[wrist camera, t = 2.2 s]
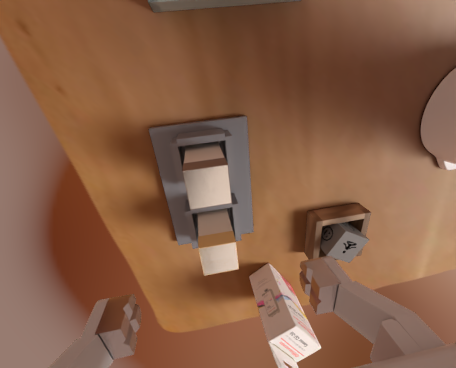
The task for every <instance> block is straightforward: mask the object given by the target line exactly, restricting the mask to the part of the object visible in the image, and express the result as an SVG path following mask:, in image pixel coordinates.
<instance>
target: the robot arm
mask: <svg viewBox="0 0 456 368" xmlns="http://www.w3.org/2000/svg"><path fill="white" fill-rule="evenodd" d="M421 139H422V142H423V145H424V146H425V148H426V149H427V150H428V151H429V152H430V153H432V154H433V155H434V156H435V157H436V158H437V162H438V165H439V167H440V168H441V169H445V170H453V169H456V68H455V69H453V70H452V71H451V72H450V73H449V74H448V75H447V76H446V77H445V78H444V79H443V81H442V82H441V83H440V84H439V86H438V87H437V88H436V90H435V91H434V93H433V94H432V96H431V98H430V100H429V102H428V104H427V106H426V108H425V111H424V114H423V118H422V122H421ZM300 268H301V269H302V271H301V272H300V283H301V286H302V289H303V291H304V293H305V294H307V295H308V296H310V299H309V302H310V304H311V306H312V307H313V309H314V311H315V313H316V314H322V313H327V312H333V311H334V313H335V314H336V315H338V316H339V317H340V318H342V319H343V320H344V321H345V322H347V323H348V324H349V325H350V326H352V327H353V328H354V329H355V330H357V331H358V332H359V333H360V334H362V335H363V336H364V337H366V338H367V339H368V340H369V341H370V342H372V343H373V344H374V346H373V349H372V352H371V355H370V359H371V360H372V362H373V363H370V364H366V365H362V366H358V367H355V368H456V343H452V344H448V345H446V344H445V343H444V342H443V341H442V340H441V339H440V338H439V337H438V336H437V335H436V334H435V333H434V332H433V331H432V330H431V329H430V328H429V327H428V326H427V325H426V324H425V323H424V322H423V321H422V320H421V319H420V318H419V317H418V315H417V314H416V313H414V312H413V311H411V310H409V309H407V308H405V307H403V306H401V305H399V304H397V303H396V302H394V301H392V300H390V299H388V298H386V297H384V296H382V295H380V294H379V293H377V292H375V291H373V290H371V289H369V288H367V287H366V286H364V285H362V284H360V283H358V282H356V281H354V282H353V281H352V280H351V279H350V278H349V277H348V275H347V274H346V273H345V272H344V270H343V269H342V268H341V267H340V266H339V264H338V263H337V262H336V261H335V259H334V258H333V257H332V256H326V257H321V258H315V259H310V260H305V261H301V263H300ZM135 302H136V298H135V296H134V294H133V295H126V296H119V297H114V298H109V299H103V300H99V301H98V302H97V303H96V304H95V306H94V308H93V311H92V313H91V315H90V317H89V320H88V322H87V324H86V327H85V329H84V331H83V334H82V336H81V338H79V339H76V340H75V341H74V342H73V343H72V344H71V345H70V346H69V347H68V348H67V349H66V350H65V351H64V352H63V353H62V354H61V355H60V356H59V358H57V359H56V360H55V362H54V363H53V364H52V365H51V366H50V367H49V368H109V367H110V365H111V364H112V362H113V360H114V359H118V358H122V357H126V356H129V355H133V354H134V351H135V346H136V342H137V336H136V334H135V333H136V331H137V330H138V329H139V327H140V323H141V310H140V307H139V305H137V304H135Z"/></svg>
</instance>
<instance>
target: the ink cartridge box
mask: <svg viewBox="0 0 456 368" xmlns="http://www.w3.org/2000/svg"><path fill="white" fill-rule="evenodd" d="M249 279H250V282H251V286H252V289H253V292H254V296H255V299H256V303H257V306H258V310H259V313H260V317H261V320H262V324H263V327H264V330H265V334H266V337H267V340H268V343H269V345H270V348H271V351H272V354H273V356H274V359H275V362H276V364H277V366H278V368H288V367H287V366H286V365H285V364H284V362H283V361H285V362H286V363H288V364H289V365H290V366H291V367H292V368H298V365H297V363H296V362H298V361H300V360H302V359H303V358H305V357H307V356H308V355H310V354H312V353H314V352H315V351H317V350H319V349H321V346H320V344H319V342H318V340H317V338H316V336H315V334H314V332H313V330H312V328H311V326H310V324H309V322H308V320H307V318H306V316H305V314H304V311H303V309H302V307H301V305H300V303H299V301H298V299H297V297H296V295H295V293H294V290H293V289H292V286H291V284H289V283H288V282H287V281H286V280H285V279H284V278H283V277H282V276H281V275H280V274H279V273H278V272H277V271H276V270H275V269H274V268H273V267H272V265H271V264H270V263H267V264H266V265H264V266H263V267H262V268H260V269H259V270H257V271H256V272H254V273H253V274H252V275H250V276H249Z"/></svg>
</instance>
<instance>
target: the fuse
mask: <svg viewBox="0 0 456 368" xmlns="http://www.w3.org/2000/svg"><path fill="white" fill-rule="evenodd" d="M198 249H199V254H200V259H201V264H202V269H203V274H204V276H205V275H211V274H216V273H221V272H227V271H232V270H237V269H239V265H238V256H237V246H236V240H235V236H234V232H233V230H232V227H231V223H230V219H229V215H228V212H227V208H224V209H218V210H212V211H206V212H199V213H198Z"/></svg>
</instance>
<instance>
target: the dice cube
mask: <svg viewBox="0 0 456 368" xmlns="http://www.w3.org/2000/svg"><path fill="white" fill-rule="evenodd" d="M368 241H369V239H368V238H367V237H366V236H365V235H363V234H362V233H361V232H360V231H359V230H358V229H357V228H356V227H355V226H353V225H352V224H351V223H350V222H349V221H348V222H342V223H337V224H331V225H326V226H322V233H321V242H320V248H321V249H322V250H323V252H324V253H325V254H326V255H327V256H332V257H333V258H336V259H339V260H342V261H345V262H348V263H350V262H351V261H352V259H353V258H354V257H355V256H356V255H357V254H358V252H359V251H360V250H361V249H362V248H363V247H364V245H365V244H366V243H367V242H368Z"/></svg>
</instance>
